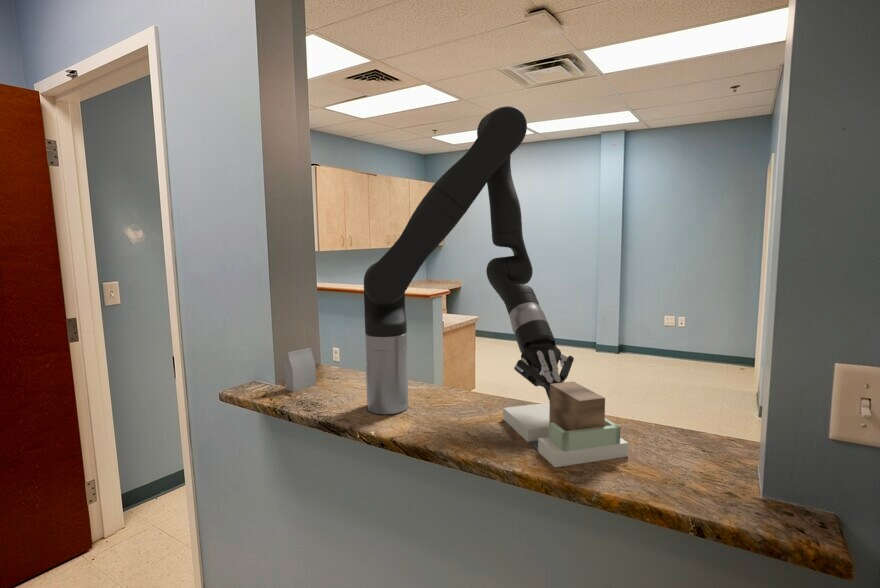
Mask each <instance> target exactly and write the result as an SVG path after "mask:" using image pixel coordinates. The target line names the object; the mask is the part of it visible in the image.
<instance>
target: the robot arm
mask: <svg viewBox="0 0 880 588" xmlns="http://www.w3.org/2000/svg"><path fill="white" fill-rule="evenodd" d="M527 130H528V123H527V119H526V116H525V114H524V112H523V111H522V110H521V109H519V108H518V107H516V106H507V105H506V106H500V107H498V108H496V109H494V110H492V111H491V112H488V113H487V114H486V115H484V116H483V117H482V118H481V120H480V121H479V124H478V125H477V130H476V139H475V141H474V142H473V144H472V145H471V146H470V148H469V149H468V150H467V151H466V153H464V155H463V156H462V157H461V158H460V159H458V160H457V161H456V162H455V163H454V164H453V165H452V166H451V167H450V168H449V169H447V170H446V171H445V172H444V173H443V174H442V175H441V176H440V177H439V178H438V180H436V182H435V183H434V184H433V185H432V186H431V188H430V189H429V190H428V192H427V193H426V194H425V195H424V197H423V198H422V199H421V201H420V202H419V203H418V205H417V207H416V209H415V210H414V211H413V213H412V215H411V217H410V218H409V219H408V221H407V224H406V226H405V228H403V230H402V233H401V234H400V236H399V237H398V238H397V240H395V241H396V242H395V243H394V244H393V245H392V246H391V247H390V248H389V249H387V250H388V251H386V252H385V254H384V255H383V256H382V257H381V258H380V259H379V260H378V261H376V262H374V263H372V264H371V265H370V266H369V267H368V268H367V269H366V271H365V273H364V276H363V303H364V304H363V305H364V331H365V333H364V334H365V337H364V340H365V358H366V359H365V363H366V365H365V376H366V377H365V378H366V379H365V380H366V381H365V382H366V383H365V384H366V404H367V410H368V412H370V413H373V414H377V415H394V414H399V413H403V412H404V411H406V410H407V409H408V408H409V375H408V374H409V373H408V367H409V366H408V336H407V335H408V333H407V332H408V328H407V326H408V325H407V324H408V323H407V314H406V297H405V296H406V294H405V293H406V291H407V289H408V288H409V286H410V285H411V282H412V281H413V279H414V278H415V276H416V275H417V273H418V271H419V270H420V269H421V267H422V265H423V264H424V262H425V261H426V260H427V258H428V257H429V256H430V255H431V254H432V253H433V252H434V251H435V250H436V249H437V248H438V247H439V246H440V244H442V242H443V241H445V239H446V238H447V236H448V235H449V234H450V233H451V231H453V229H454V228H456V226H457V225H458V223H459V222H460V220H461V219H463V217H464V216H465V214H466V213H467V211H468V210H469V208H470V207H471V206H472V204H473V203H474V201H476V199H477V197H478V196H479V195H480V193H481V192H482V191H483V189H484V187H485V186H486V185H487V192H488V200H489V201H488V202H489V213H490V226H491V230H490V231H491V240H492V244H493V245H494V246H496V247H500V248H508V249H510V250H511V251H512V253H513V255H509V256H508V255H507V256H499V257H495V258H491V260H489V262H488V263H487V266H486V271H485V272H486V276H487V279H488V282H489V283H490V285H491V287H492V288H493V289H494V290H495V292H496V293H497V294H498V296H499V297H500V299H501V300H502V301H503V303H504V305H505V307H506V310H507V314H508V317H509V320H510V326H511V329H512V332H513V334H514V337H515V339H516V343H517V345H518V346H517V347H518V349H519V351H520V353H521V355H520V359H518V360H517V362H516V363H515V365H514V367H513V368H514V371H516V372H517V373H518V374H519V375H521V377H523V378H524V379H526V380H527V381H528V382H529V383H530V384H532V385H533V386H534V387H539V386H540V387H543V388H544V390H545V392H546V395H547V399H548V401H549V402H550V384H554V383H563V382H565V381H566V379H568V376H569V374H570V371H571V368H572V365H573V362H574V360H575V358H574V356H572V355H569V356H566V355H564V354H562V352H561V350H560V348H558V347H557V344H556V339H555V336H554V334H553V331H552V330H551V327H550V324H549V322H548V320H547V316H546V315H545V313H544V311H543V310H542V307H541V306H540V302H539V301H538V298H537V296H536V293H535V291H534V289H533V288H532V286H530V285H527V284H528V283H529V282H530V281H531V279H532V277H533V273H534V272H533V266H532V262H531V259H530V256H529V254H528V251H527V248H526V244H525V241H524V236H523V234H524V233H523V222H522V209H521V204H520V200H519V197H518V193H517V190H516V188H515V185H514V184H515V183H514V180H513V175H512V167H511V159H512V158H511V157H512V153H513V152H515V150H517V148H519V147H520V145H521V144H522V143H523V141H524V139H525V137H526V135H527ZM558 364H560V367H561V369H560V372H559V366H558Z"/></svg>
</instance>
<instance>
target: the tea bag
mask: <svg viewBox="0 0 880 588" xmlns="http://www.w3.org/2000/svg"><path fill="white" fill-rule="evenodd" d="M284 364H285V365H284V379H285V380H284V381H285V382H284V383H285V390H286V391H288V390H289V392H291V391H292V392H291V393H297V392H300V391H303V390H302V389H304V390H306V389H305V388H308V387H311V386H315V385H316V386H317V373H316V372H317V369H316V361H315V358H314V355H313V351H312V348H311V347H307V348H303V349H298V350H294V351H288V352H287V353H286V360H285V363H284ZM316 386H315V387H316ZM311 388H312V387H311ZM308 389H309V388H308ZM299 390H300V391H299ZM296 391H297V392H296Z"/></svg>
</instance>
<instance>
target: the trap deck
mask: <svg viewBox="0 0 880 588" xmlns="http://www.w3.org/2000/svg"><path fill="white" fill-rule="evenodd" d="M502 408H503V413H502V414H503V415H502V417H503V418H502V419H503V421H504V422H505V423H506V424H507V425H509V426H510V427H511V428H512V429H513V430H514V431H515V432H516V433H517V434H519V436H521V438H523V440H525V441H526V442H527V443H528V444H529V445H530V446H531V447H532V448H533V449H534V450H536V451H537V452H538V453H539V454H540V455H541V456H542V457H543V458H544V459H545V460H547V462H548V463H549V464H550V465H551V466H552V467H554V468H560V467H567V466H574V465H579V464H580V465H581V464H587V463H588V464H589V463H593V462H601V461H602V462H603V461H606V460H607V461H608V460H613V459H621V458H627V457H629V445H630V444H629V442H628V441H627V440H626V439H625V440H624V439H623V438H622V437H621V426H620V425H618V424H616V423H615V422H613V421H611V420H609V419H608V418H606V417H605V425H604V427H596V428H588V429H580V430H573V431H565V430H563V429H562V428H561V427H559V426H558V425H557V424H555V423H550V425H549V414H550V402H547V403H546V402H545V403H536V404H527V405H526V404H525V405H518V406H509V407H508V406H507V407H502Z"/></svg>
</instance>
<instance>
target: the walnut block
mask: <svg viewBox="0 0 880 588" xmlns="http://www.w3.org/2000/svg"><path fill="white" fill-rule="evenodd" d="M549 403H550V414H549V425H550V423H555V424H557V425H558V426H559V427H561V428H562V429H563V430H565V431H573V430H580V429H588V428H596V427H604V425H605V418H606V416H605V415H606V398H605V397H604V396H602V395H601V394H598V393H596V392H594V391H593V390H591V389H589V388H587V387H585V386H583V385H582V384H579V383H577V382H575V381H566V382H565V381H564V382H563V383H554V384H550V401H549Z"/></svg>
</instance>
